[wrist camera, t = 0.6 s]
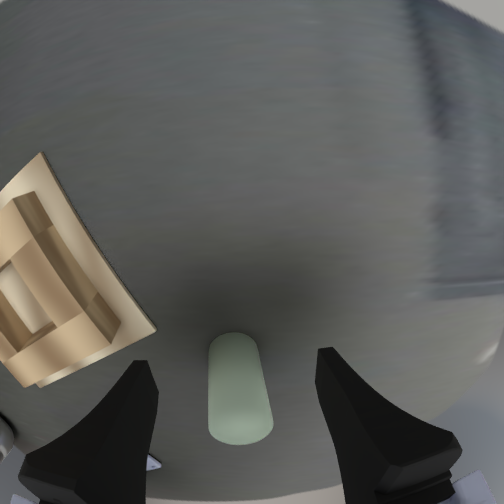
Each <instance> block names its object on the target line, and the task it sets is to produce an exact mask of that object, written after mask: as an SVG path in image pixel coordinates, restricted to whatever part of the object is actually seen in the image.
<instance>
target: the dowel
mask: <svg viewBox="0 0 504 504" xmlns="http://www.w3.org/2000/svg"><path fill="white" fill-rule="evenodd" d="M208 427H209V432H210V433H211V435H212V436H213V437H214V438H215V439H217V440H219V441H221V442H223V443H227V444H232V445H244V444H250V443H254V442H257V441H259V440H261V439H263V438H265V437H266V436H267V435H268V434H269V433H270V432H271V430H272V428H273V418H272V414H271V409H270V404H269V400H268V395H267V390H266V386H265V381H264V376H263V371H262V367H261V362H260V357H259V352H258V348H257V344H256V343H255V341H254V340H253V339H252V338H251V337H249V336H248V335H246V334H243V333H238V332H230V333H225V334H222V335H220V336H218V337H217V338H215V339H214V340H213V341H212V343H211V344H210V347H209V357H208Z"/></svg>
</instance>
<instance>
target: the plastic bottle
mask: <svg viewBox="0 0 504 504" xmlns="http://www.w3.org/2000/svg"><path fill="white" fill-rule="evenodd" d="M13 443H14V435H13V431H12V429H11V428H10V426H9V425H8V424H7V423H6V422H5V421H4V420H3V419H2V418H1V417H0V464H1V462H2V461H3V459H4V458H5V457H6V456H7V455H8V453H9V452H10V451H11V449H12V447H13Z"/></svg>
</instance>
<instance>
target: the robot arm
mask: <svg viewBox="0 0 504 504" xmlns="http://www.w3.org/2000/svg"><path fill="white" fill-rule="evenodd" d="M315 384H316V389H317V394H318V399H319V403H320V406H321V408H322V411H323V414H324V417H325V420H326V423H327V426H328V428H329V431H330V434H331V437H332V440H333V443H334V446H335V449H336V454H337V458H338V463H339V468H340V473H341V478H342V483H343V489H344V495H345V502H346V504H497V503H496V500H495V498H494V496H493V494H492V492H491V490H490V488H489V486H488V484H487V482H486V480H485V478H484V476H483V475H482V472H481V471H480V470H479V469H478V470H476V471H474V472H472V473H470V474H468V475H467V476H464V477H463V478H460V479H459V480H457V481H455V482H454V483H453V484H452V483H451V481H450V478H451V477H452V474H451V472H450V470H449V469H450V468H451V467H452V466H453V464H454V463H455V462H456V461H457V460H458V459H459V457H460V456H461V454H462V448H461V446H460V444H459V442H458V440H457V439H456V437H455V436H454V435H453V433H452V432H450V431H447V430H444V429H441V428H439V427H436V426H433V425H431V424H428V423H426V422H424V421H422V420H420V419H418V418H416V417H414V416H412V415H410V414H408V413H407V412H405V411H403V410H401V409H400V408H398V407H397V406H395V405H394V404H392V403H391V402H389V401H388V400H387V399H385V398H384V397H383V396H381V395H380V394H379V393H378V392H376V391H375V390H374V389H373V388H372V387H371V386H370V385H368V384H367V383H366V382H365V381H364V380H363V379H362V378H361V377H360V376H359V375H358V374H357V373H356V372H355V371H354V370H353V369H352V368H351V367H350V366H349V365H348V364H347V363H346V361H345V360H344V359H343V358H342V357H341V356H340V355H339V354H338V352H337V351H336V350H335V349H334V348H333V347H328V348H320V349H318V356H317V366H316V376H315ZM158 394H159V392H158V389H157V386H156V384H155V381H154V378H153V376H152V373H151V370H150V367H149V364H148V361H147V360H134V361H133V362H132V364H131V365H130V366H129V367H128V369H127V370H126V371H125V372H124V374H123V375H122V376H121V377H120V379H119V380H118V381H117V383H116V384H115V385H114V386H113V387H112V389H111V390H110V391H109V392H108V393H107V395H106V396H105V397H104V398H103V399H102V400H101V401H100V402H99V404H98V405H97V406H96V407H95V408H94V409H93V410H92V411H91V412H90V413H89V414H88V415H87V416H86V417H84V418H83V419H82V420H81V421H80V422H79V423H78V424H76V425H75V426H74V427H72V428H71V429H70V430H68V431H67V432H66V433H64V434H63V435H62V436H60V437H59V438H57V439H55V440H54V441H52V442H50V443H49V444H47V445H45V446H43V447H41V448H39V449H37V450H35V451H33V452H31V453H29V454H27V455H26V457H25V459H24V462H23V465H22V467H21V470H20V472H19V475H18V479H19V481H20V482H21V483H22V484H23V485H24V486H25V487H26V488H27V489H28V490H30V491H31V492H32V493H33V494H34V495H35V496H37V497H38V498H39V499H40V502H39V504H146V502H145V500H146V499H145V493H146V471H148V470H152V469H157V468H160V467H161V463H159V462H158V461H157V460H155V459H154V458H153V457H151V456H150V455H149V454H148V452H149V447H150V442H151V438H152V433H153V429H154V424H155V419H156V414H157V407H158ZM10 504H37V503H35V502H34V501H31V500H29V499H26V498H23V497H21V496H19V495H17V494H13V496H12V500H11V502H10Z"/></svg>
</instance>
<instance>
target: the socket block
mask: <svg viewBox="0 0 504 504" xmlns="http://www.w3.org/2000/svg"><path fill="white" fill-rule="evenodd" d="M156 330H157V328H156V327H155V326H154V324H153V323H152V322H151V321H150V319H149V318H148V317H147V315H146V314H145V313H144V311H143V310H142V309H141V308H140V306H139V305H138V304H137V302H136V301H135V299H134V298H133V297H132V295H131V294H130V293H129V291H128V290H127V289H126V287H125V286H124V284H123V283H122V282H121V280H120V279H119V277H118V276H117V274H116V273H115V272H114V270H113V269H112V267H111V266H110V264H109V263H108V261H107V260H106V258H105V257H104V255H103V254H102V252H101V251H100V249H99V248H98V246H97V245H96V243H95V242H94V240H93V239H92V237H91V235H90V234H89V232H88V231H87V229H86V228H85V226H84V224H83V223H82V221H81V219H80V218H79V216H78V214H77V213H76V211H75V209H74V208H73V206H72V204H71V203H70V201H69V199H68V197H67V196H66V194H65V192H64V190H63V189H62V187H61V185H60V183H59V182H58V180H57V178H56V176H55V174H54V172H53V170H52V169H51V167H50V165H49V163H48V161H47V159H46V157H45V155H44V153H43V152H40V153H39V154H38V155H37V156H35V157H34V158H33V159H32V160H31V161H30V162H29V163H28V164H27V165H26V166H25V167H24V168H23V169H22V170H21V171H20V172H19V173H18V174H17V175H16V176H15V177H14V178H13V179H12V180H11V181H10V182H9V183H8V184H7V185H6V186H5V187H4V188H3V189H2V191H1V192H0V360H1V361H2V363H3V364H4V365H5V366H6V367H7V369H8V370H9V371H10V372H11V373H12V374H13V376H14V377H15V378H16V379H17V380H18V381H19V382H20V383H21V384H22V386H23V387H24V388H26V387H28V386H30V385H32V384H34V383H36V384H37V385H38V386H39V387H40V388H41V387H43V386H45V385H47V384H49V383H52V382H54V381H56V380H58V379H60V378H62V377H64V376H66V375H68V374H71V373H73V372H75V371H77V370H79V369H81V368H83V367H85V366H87V365H89V364H91V363H93V362H96V361H98V360H100V359H102V358H104V357H106V356H108V355H110V354H112V353H114V352H116V351H118V350H120V349H122V348H124V347H126V346H128V345H130V344H132V343H134V342H136V341H138V340H140V339H142V338H144V337H146V336H148V335H150V334H152V333H154V332H156Z"/></svg>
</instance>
